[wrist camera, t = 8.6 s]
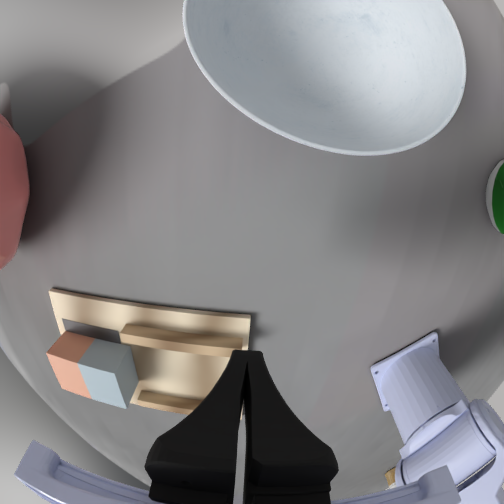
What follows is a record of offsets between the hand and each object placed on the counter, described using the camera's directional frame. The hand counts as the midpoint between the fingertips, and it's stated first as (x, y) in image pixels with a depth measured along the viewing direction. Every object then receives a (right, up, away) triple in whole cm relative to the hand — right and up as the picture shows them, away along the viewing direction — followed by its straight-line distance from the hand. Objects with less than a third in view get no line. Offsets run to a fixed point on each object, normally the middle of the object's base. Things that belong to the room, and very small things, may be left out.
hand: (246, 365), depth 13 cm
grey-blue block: (-13, -6, +11) cm, 18 cm away
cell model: (-25, +12, +6) cm, 29 cm away
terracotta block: (-17, -5, +11) cm, 21 cm away
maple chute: (-10, -5, +12) cm, 17 cm away
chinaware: (+5, +19, +3) cm, 20 cm away
